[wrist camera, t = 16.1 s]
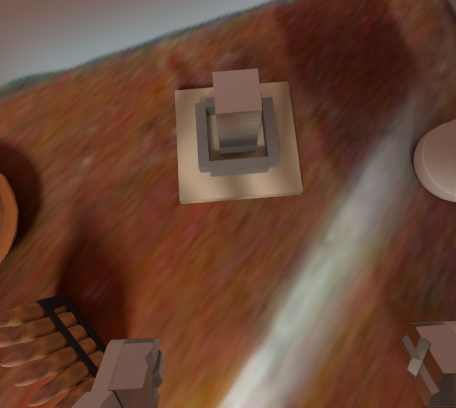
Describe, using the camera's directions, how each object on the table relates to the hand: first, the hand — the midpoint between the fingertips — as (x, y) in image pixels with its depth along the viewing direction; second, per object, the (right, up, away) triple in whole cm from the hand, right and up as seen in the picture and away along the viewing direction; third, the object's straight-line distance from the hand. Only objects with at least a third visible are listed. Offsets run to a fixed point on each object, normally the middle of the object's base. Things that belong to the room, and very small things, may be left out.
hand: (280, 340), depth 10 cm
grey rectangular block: (-1, +12, +26) cm, 29 cm away
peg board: (-1, +12, +28) cm, 30 cm away
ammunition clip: (-17, -10, +24) cm, 31 cm away
